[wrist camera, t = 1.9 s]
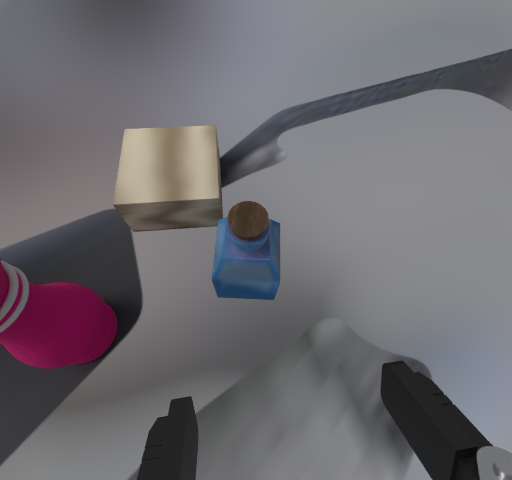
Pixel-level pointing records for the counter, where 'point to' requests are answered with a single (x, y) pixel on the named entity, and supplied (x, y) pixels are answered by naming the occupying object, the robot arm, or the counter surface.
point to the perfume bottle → (247, 254)
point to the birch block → (169, 178)
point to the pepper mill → (52, 321)
